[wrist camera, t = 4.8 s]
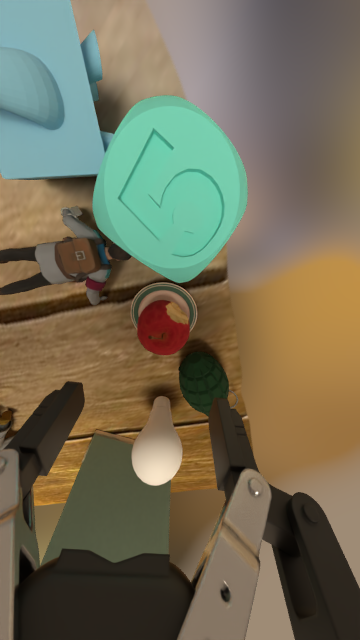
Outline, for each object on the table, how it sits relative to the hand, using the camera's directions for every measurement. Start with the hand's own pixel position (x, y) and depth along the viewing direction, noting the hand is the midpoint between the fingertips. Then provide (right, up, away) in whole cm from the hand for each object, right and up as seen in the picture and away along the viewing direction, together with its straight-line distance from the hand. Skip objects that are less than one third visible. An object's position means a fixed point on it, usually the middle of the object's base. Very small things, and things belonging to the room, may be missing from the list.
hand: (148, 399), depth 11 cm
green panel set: (-9, -23, +26) cm, 36 cm away
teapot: (-3, +18, 0) cm, 18 cm away
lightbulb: (-1, -8, +18) cm, 20 cm away
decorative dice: (+1, +15, +7) cm, 16 cm away
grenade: (+3, +1, +10) cm, 11 cm away
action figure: (-17, +10, +8) cm, 21 cm away
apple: (0, +6, +12) cm, 13 cm away
